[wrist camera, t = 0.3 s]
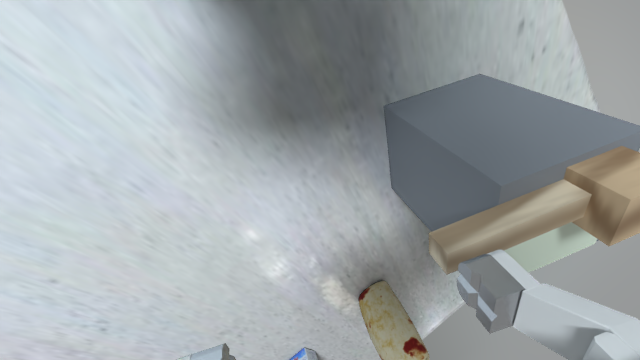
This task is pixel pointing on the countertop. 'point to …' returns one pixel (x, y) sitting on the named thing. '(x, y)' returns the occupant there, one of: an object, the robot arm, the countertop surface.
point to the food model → (390, 325)
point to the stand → (494, 154)
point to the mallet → (552, 211)
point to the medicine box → (305, 355)
